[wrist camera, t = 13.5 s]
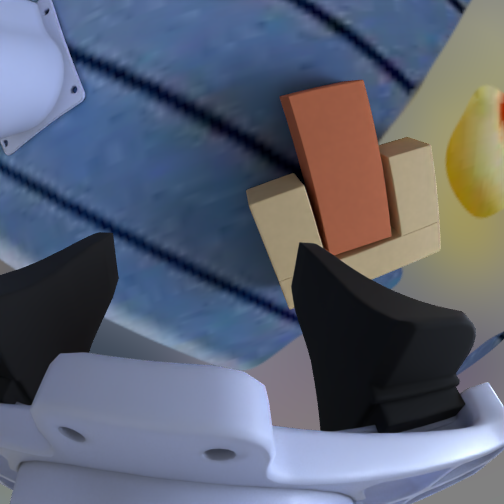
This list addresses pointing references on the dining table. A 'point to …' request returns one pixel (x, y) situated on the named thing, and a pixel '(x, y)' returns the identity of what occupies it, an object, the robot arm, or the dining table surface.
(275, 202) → the u-shaped block
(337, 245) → the reddish-brown rectangular block
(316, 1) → the dining table surface
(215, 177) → the dining table surface
